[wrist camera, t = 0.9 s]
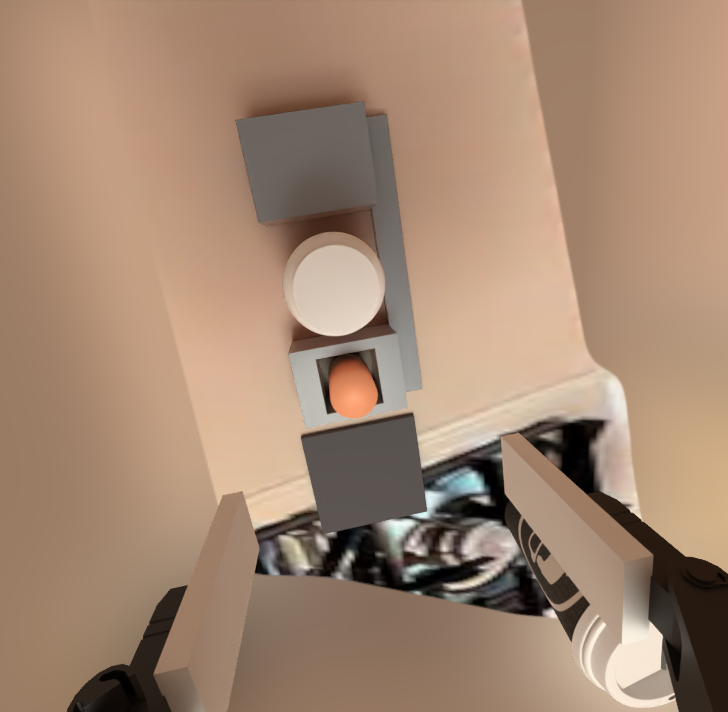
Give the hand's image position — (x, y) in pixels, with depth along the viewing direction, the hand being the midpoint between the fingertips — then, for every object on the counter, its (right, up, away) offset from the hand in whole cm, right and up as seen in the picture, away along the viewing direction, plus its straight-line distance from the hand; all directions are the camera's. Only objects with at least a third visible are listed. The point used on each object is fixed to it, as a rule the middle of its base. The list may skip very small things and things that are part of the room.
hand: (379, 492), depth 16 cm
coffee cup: (+17, -10, +23) cm, 30 cm away
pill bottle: (-3, +12, +15) cm, 20 cm away
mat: (0, -5, +20) cm, 21 cm away
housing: (-2, +12, +15) cm, 19 cm away
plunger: (-2, +4, +15) cm, 16 cm away
